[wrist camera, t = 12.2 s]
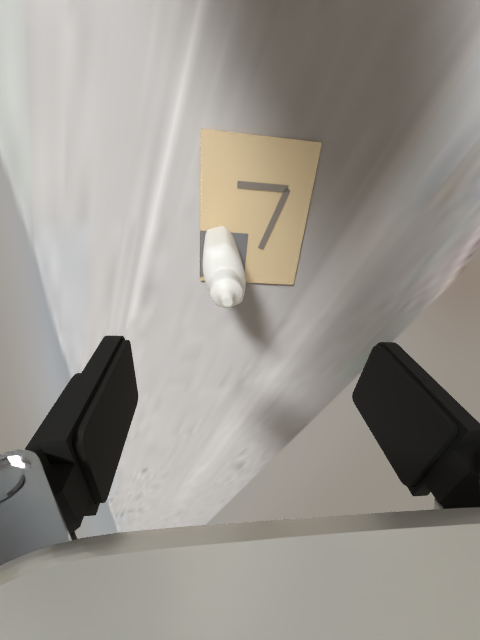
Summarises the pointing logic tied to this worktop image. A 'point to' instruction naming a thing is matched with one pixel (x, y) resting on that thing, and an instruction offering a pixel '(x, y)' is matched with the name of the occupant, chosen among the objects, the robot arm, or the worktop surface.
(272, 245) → the card
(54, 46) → the worktop surface
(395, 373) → the robot arm
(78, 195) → the worktop surface
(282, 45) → the worktop surface
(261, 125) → the worktop surface
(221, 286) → the eye dropper bottle
